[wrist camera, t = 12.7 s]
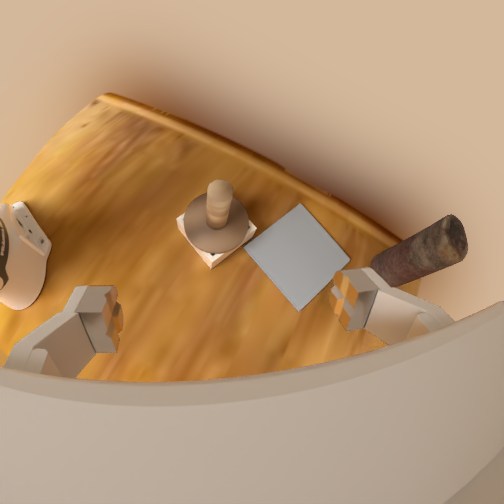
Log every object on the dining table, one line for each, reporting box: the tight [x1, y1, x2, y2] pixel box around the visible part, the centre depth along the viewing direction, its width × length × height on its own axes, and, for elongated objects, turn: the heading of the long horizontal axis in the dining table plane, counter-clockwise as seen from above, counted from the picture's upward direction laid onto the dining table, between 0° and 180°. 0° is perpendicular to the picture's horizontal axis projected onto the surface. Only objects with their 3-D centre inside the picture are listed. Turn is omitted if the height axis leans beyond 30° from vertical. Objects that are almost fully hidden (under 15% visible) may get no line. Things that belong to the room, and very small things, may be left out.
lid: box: [184, 179, 249, 254], centre depth 37 cm, size 10×10×10 cm
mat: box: [244, 203, 350, 311], centre depth 47 cm, size 14×14×1 cm
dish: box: [176, 213, 257, 269], centre depth 44 cm, size 9×9×4 cm
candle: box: [371, 214, 468, 288], centre depth 40 cm, size 8×7×20 cm
